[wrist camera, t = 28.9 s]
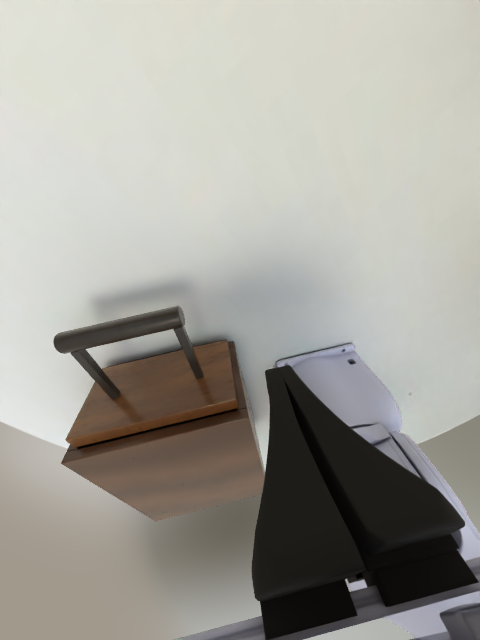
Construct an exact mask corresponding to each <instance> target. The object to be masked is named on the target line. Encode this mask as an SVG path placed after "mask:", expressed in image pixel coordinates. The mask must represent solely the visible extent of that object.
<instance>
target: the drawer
mask: <svg viewBox="0 0 480 640" xmlns="http://www.w3.org/2000/svg"><path fill="white" fill-rule="evenodd" d="M184 325H185V318H184V314H183V311H182V309H181V307H180V306H176V307H171V308H167V309H162V310H158V311H154V312H149V313H145V314H140V315H136V316H132V317H127V318H123V319H118V320H114V321H110V322H105V323H101V324H96V325H92V326H88V327H83V328H79V329H74V330H70V331H66V332H61V333H58V334H57V335H56V336H55V337H54V346H55V348H56V350H57V351H58V352H60V353H64V354H65V353H70V352H71V354H72V356H73V357H74V358H75V359H76V360H77V361H78V362H79V363H80V365H81V366H82V367H83V368H84V369H85V370H86V371H87V372H88V373H89V375H90V376H91V377H92V378H93V379H94V380H95V383H94V385H93V387H92V389H91V391H90V393H89V394H88V396H87V398H86V400H85V402H84V404H83V406H82V408H81V410H80V412H79V414H78V416H77V418H76V420H75V422H74V424H73V426H72V428H71V430H70V432H69V434H68V436H67V438H66V441H67V442H68V443H70V444H71V445H72V446H74V447H80V446H84V445H88V444H92V443H96V442H99V444H101V443H105V442H110V441H114V440H118V439H122V438H126V437H130V436H134V435H138V434H143V433H145V432H146V430H150V429H154V428H158V427H162V426H166V425H170V424H174V423H179V422H183V421H187V420H191V419H195V418H199V417H203V416H207V415H212V414H216V413H219V415H221V414H225V413H229V412H233V411H237V408H239V405H238V399H237V393H236V387H235V381H234V374H233V368H232V362H231V356H230V350H229V346H228V342H227V340H222V341H218V342H214V343H209V344H205V345H201V346H197V347H192V344H191V342H190V340H189V337H188V335H187V332H186V330H185V327H184ZM170 329H174V331H175V333H176V335H177V338H178V340H179V342H180V344H181V347H182V349H183V350H179V351H175V352H171V353H167V354H162V355H158V356H154V357H149V358H145V359H141V360H137V361H132V362H128V363H124V364H119V365H115V366H111V367H106V368H102V369H101V368H100V366H99V365H98V364H97V363H96V362H95V360H94V359H93V358H92V357H91V356H90V354H89V353H88V352H87V351H86V349H87V348H92V347H96V346H100V345H105V344H109V343H113V342H118V341H122V340H126V339H131V338H135V337H139V336H144V335H148V334H152V333H157V332H161V331H165V330H170Z"/></svg>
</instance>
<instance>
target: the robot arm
mask: <svg viewBox="0 0 480 640" xmlns="http://www.w3.org/2000/svg"><path fill="white" fill-rule="evenodd" d="M284 363H285V364H284ZM276 365H277V368H273V369H269V370H266V371H265V375H266V381H267V388H268V393H269V399H270V429H269V444H268V455H267V464H266V472H265V479H264V485H263V492H262V498H261V504H260V509H259V514H258V520H257V525H256V530H255V539H254V550H253V560H252V579H253V587H254V594H255V598H256V599H257V600H258V601H260V604H261V612H262V616H259V617H256V618H252V619H248V620H245V621H241V622H238V623H234V624H230V625H226V626H222V627H219V628H215V629H211V630H208V631H204V632H200V633H197V634H193V635H190V636H186V637H182V638H178V639H174V640H303V639H306V638H310V637H313V636H317V635H321V634H324V633H328V632H332V631H335V630H339V629H342V628H346V627H349V626H353V625H357V624H360V623H364V622H367V621H371V620H375V619H379V618H382V617H383V618H386V619H387V620H389V621H391V622H392V623H394V624H396V625H398V626H399V627H401V628H403V629H404V630H406V631H407V632H409V633H410V634H411V635H413V636H414V637H415V639H410V640H480V533H479V532H478V530H477V529H476V528H475V526H474V525H473V523H472V522H471V520H470V519H469V517H468V514H467V512H466V510H465V508H464V506H463V505H462V503H461V502H460V500H459V499H458V497H457V496H456V495H455V493H454V492H453V491H452V489H451V488H450V486H449V485H448V484H447V482H446V481H445V479H444V478H443V477H442V475H441V474H440V473H439V472H438V470H437V469H436V468H435V466H434V465H433V464H432V463H431V461H430V460H429V459H428V458H427V457H426V455H425V454H424V453H423V452H422V450H421V449H420V448H419V447H418V446H417V445H416V444H415V442H414V441H413V440H412V439H411V438H410V437H409V436H408V435H406V434H403V433H399V432H400V430H401V427H402V417H401V413H400V410H399V408H398V406H397V403H396V401H395V400H394V398H393V396H392V395H391V393H390V392H389V390H388V389H387V388H386V387H385V386H384V384H383V383H382V382H381V381H380V380H379V379H378V378H377V376H376V375H375V374H374V373H373V372H372V371H371V370H370V368H369V367H368V366H367V365H366V364H365V363H364V361H363V360H362V359H361V358H360V357H359V356H358V355H357V353H356V352H355V345H354V344H347V345H343V346H339V347H334V348H330V349H326V350H322V351H318V352H313V353H309V354H305V355H301V356H297V357H292V358H288V359H284V360H280V361H278V362H277V364H276ZM391 437H392V438H391ZM393 440H394V441H393ZM347 586H348V587H349V588H350V589H351V591H352V592H349V590H348V587H347Z"/></svg>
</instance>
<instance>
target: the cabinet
mask: <svg viewBox="0 0 480 640" xmlns="http://www.w3.org/2000/svg"><path fill="white" fill-rule="evenodd" d="M228 346H229V350H230V356H231V362H232V368H233V374H234V381H235V387H236V393H237V399H238V405H239V408H237V411H233V412H229V413H225V414H221V415H217V416H213V417H208V418H204V419H200V420H196V421H192V422H188V423H184V424H180V425H175V426H171V427H167V428H163V429H159V430H155V431H151V432H147V433H143V434H138V435H134V436H130V437H126V438H122V439H118V440H114V441H110V442H105V443H101V444H99V442H96V443H92V444H88V445H84V446H80V447H74V446H72V445H71V444H70V446H69V448H68V450H67V452H66V454H65V456H64V458H63V460H62V463H61V464H63V465H64V466H66V467H68V468H69V469H71V470H73V471H74V472H76V473H77V474H79V475H81V476H82V477H84V478H86V479H87V480H89V481H90V482H92V483H94V484H95V485H97V486H99V487H100V488H102V489H104V490H105V491H107V492H108V493H110V494H112V495H113V496H115V497H117V498H118V499H120V500H122V501H123V502H125V503H127V504H128V505H130V506H131V507H133V508H135V509H136V510H138V511H139V512H141V513H143V514H144V515H146V516H148V517H149V518H151V519H153V520H154V521H158V520H163V519H166V518H170V517H174V516H178V515H182V514H186V513H190V512H194V511H198V510H201V509H206V508H209V507H214V506H217V505H221V504H225V503H229V502H233V501H237V500H241V499H245V498H249V497H252V496H257V495H260V494H262V492H263V485H264V479H265V470H264V465H263V461H262V456H261V452H260V447H259V442H258V438H257V433H256V429H255V424H254V420H253V416H252V412H251V408H250V404H249V400H248V396H247V392H246V388H245V384H244V380H243V376H242V372H241V368H240V364H239V360H238V356H237V352H236V348H235V344H234V342H229V343H228Z"/></svg>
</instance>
